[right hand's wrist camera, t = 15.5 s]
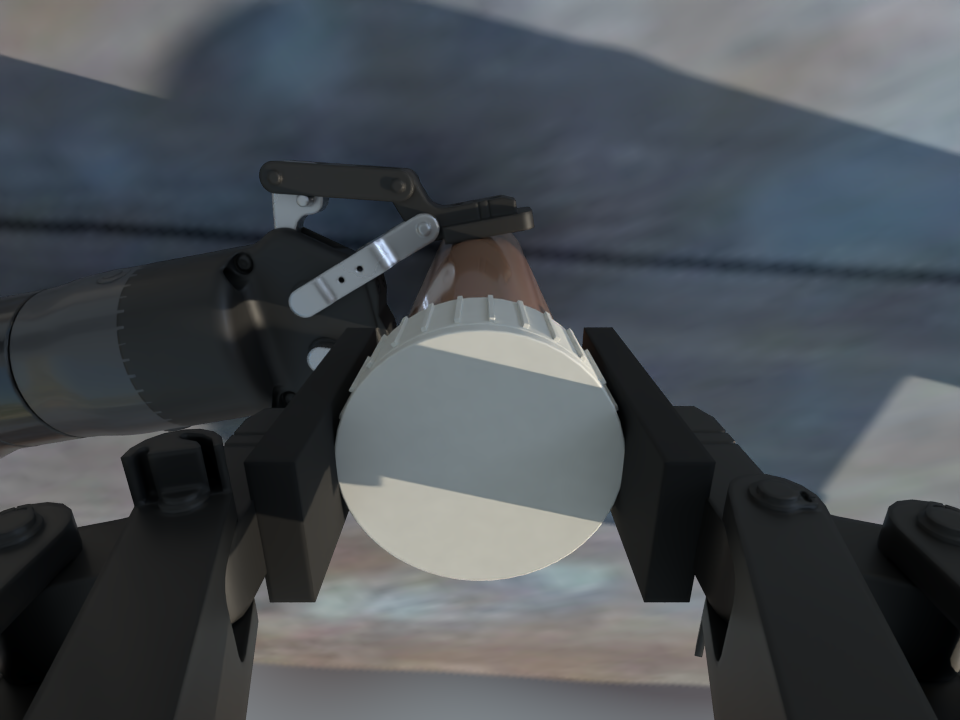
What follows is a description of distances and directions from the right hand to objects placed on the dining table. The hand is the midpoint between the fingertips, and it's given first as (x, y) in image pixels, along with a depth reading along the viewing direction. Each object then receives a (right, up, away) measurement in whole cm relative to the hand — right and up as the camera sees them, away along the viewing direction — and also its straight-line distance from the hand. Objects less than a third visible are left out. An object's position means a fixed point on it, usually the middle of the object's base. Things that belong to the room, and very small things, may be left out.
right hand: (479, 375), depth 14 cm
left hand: (+3, +4, +9) cm, 10 cm away
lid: (0, -1, -4) cm, 4 cm away
